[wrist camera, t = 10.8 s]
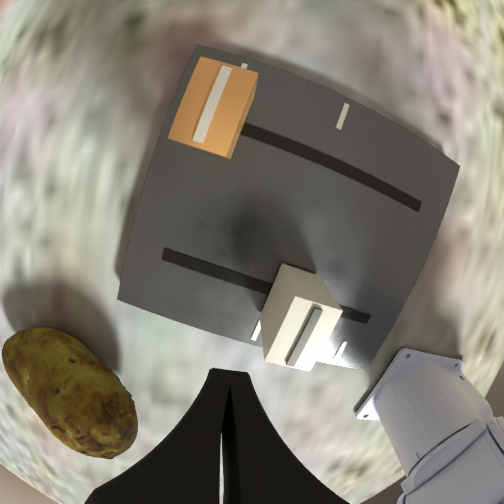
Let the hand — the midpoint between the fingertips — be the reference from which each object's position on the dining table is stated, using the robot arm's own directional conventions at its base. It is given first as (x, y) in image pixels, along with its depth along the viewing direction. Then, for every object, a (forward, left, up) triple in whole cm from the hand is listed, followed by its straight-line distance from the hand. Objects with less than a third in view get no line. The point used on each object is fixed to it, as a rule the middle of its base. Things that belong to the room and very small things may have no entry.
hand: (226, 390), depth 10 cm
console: (-2, -5, -10) cm, 11 cm away
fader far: (-3, -1, -8) cm, 8 cm away
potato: (+10, +11, -10) cm, 18 cm away
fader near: (+4, -9, -8) cm, 13 cm away
